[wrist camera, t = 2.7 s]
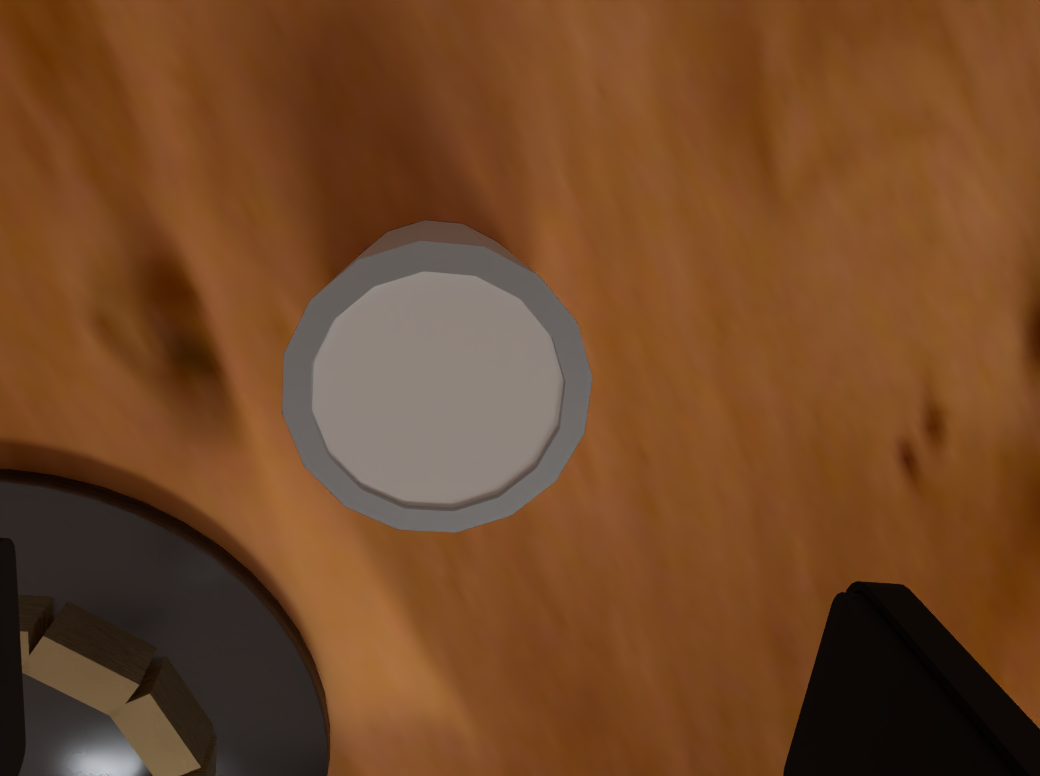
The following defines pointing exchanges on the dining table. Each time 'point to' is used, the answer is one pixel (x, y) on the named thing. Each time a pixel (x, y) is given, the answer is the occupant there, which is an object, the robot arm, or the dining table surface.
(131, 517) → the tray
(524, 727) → the dining table surface
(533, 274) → the gray tapered cylinder
